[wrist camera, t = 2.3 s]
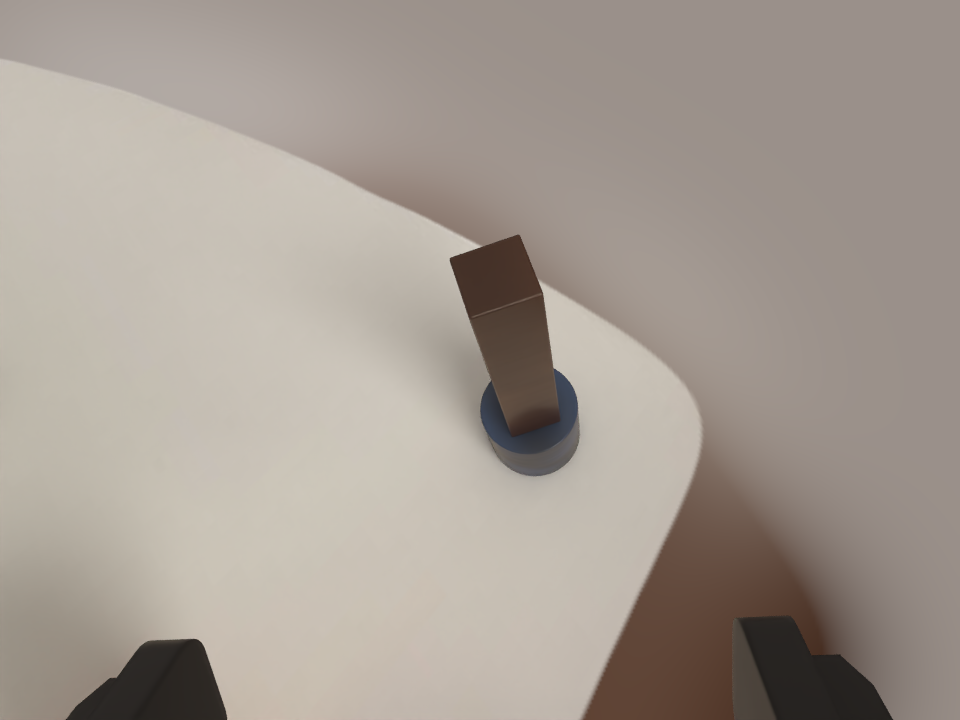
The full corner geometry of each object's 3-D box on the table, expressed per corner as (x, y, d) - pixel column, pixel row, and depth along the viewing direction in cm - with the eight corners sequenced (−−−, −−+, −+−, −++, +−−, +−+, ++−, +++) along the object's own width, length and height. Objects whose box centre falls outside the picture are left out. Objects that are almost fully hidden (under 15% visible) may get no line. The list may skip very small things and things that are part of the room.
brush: (562, 380, 37) (540, 196, 23) (592, 459, 35) (590, 312, 21) (481, 408, 37) (407, 241, 23) (506, 488, 35) (444, 362, 21)
